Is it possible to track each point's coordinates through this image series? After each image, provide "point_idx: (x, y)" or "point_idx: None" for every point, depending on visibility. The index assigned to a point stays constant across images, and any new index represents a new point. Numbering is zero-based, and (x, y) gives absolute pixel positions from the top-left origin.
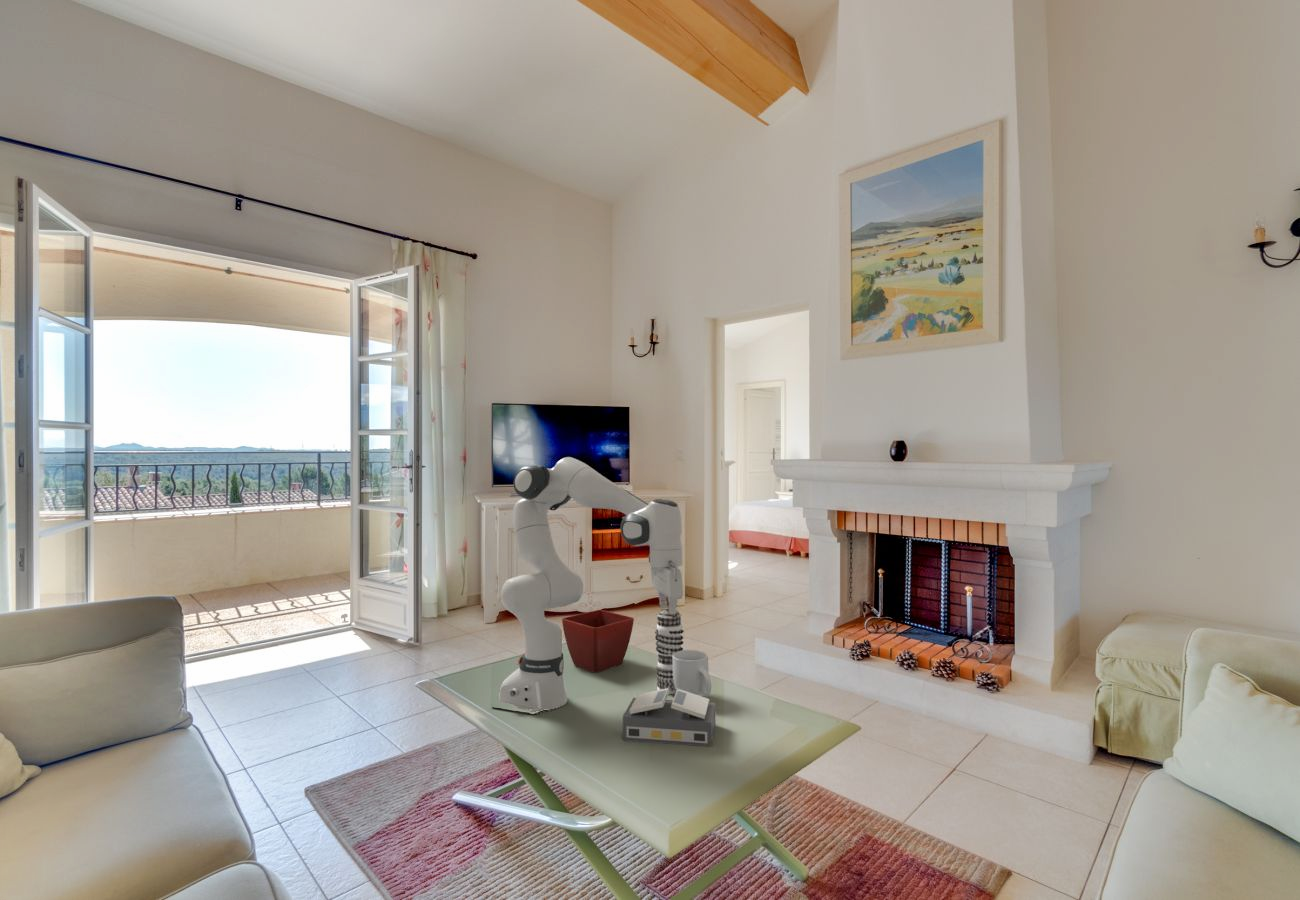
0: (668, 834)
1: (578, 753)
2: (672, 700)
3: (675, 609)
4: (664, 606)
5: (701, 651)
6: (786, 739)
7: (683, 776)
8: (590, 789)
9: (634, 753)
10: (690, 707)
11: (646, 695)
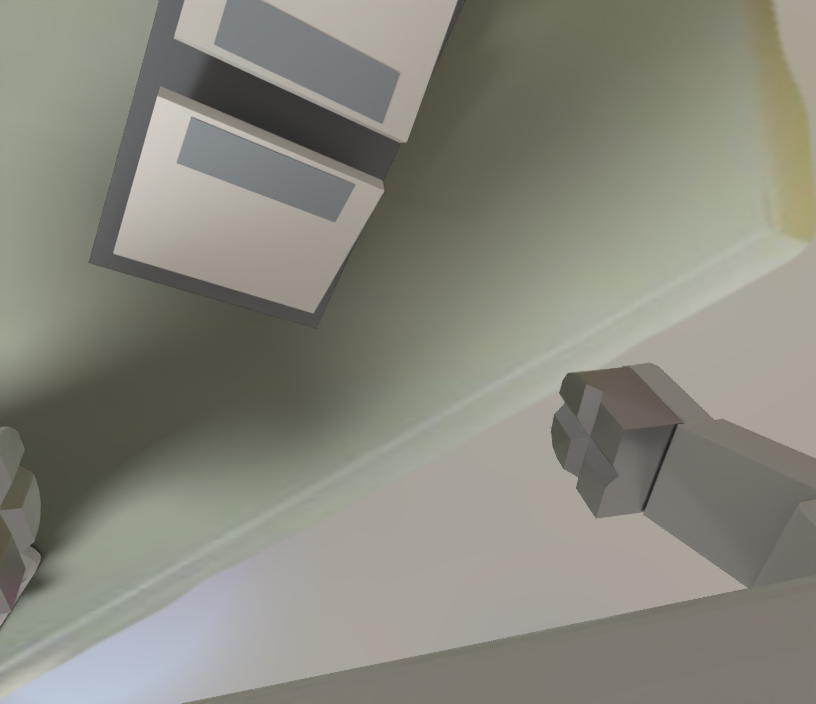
0: (788, 237)
1: (364, 413)
2: (150, 53)
3: (686, 402)
4: (19, 467)
5: None
6: None
7: (605, 133)
8: (555, 382)
9: (412, 259)
10: (411, 26)
11: (174, 223)
